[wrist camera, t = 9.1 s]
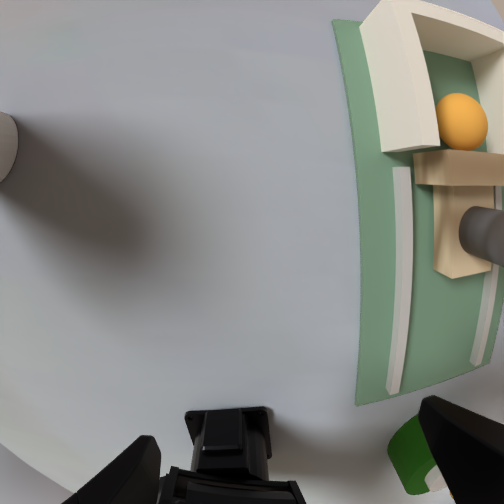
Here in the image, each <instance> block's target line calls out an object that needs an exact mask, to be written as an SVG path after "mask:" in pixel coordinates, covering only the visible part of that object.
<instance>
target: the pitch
mask: <svg viewBox="0 0 504 504" xmlns="http://www.w3.org/2000/svg"><path fill="white" fill-rule="evenodd" d="M332 25H333V29H334V34H335V38H336V43H337V47H338V52H339V57H340V62H341V68H342V73H343V79H344V84H345V90H346V96H347V103H348V109H349V116H350V124H351V131H352V140H353V148H354V158H355V168H356V179H357V191H358V206H359V224H360V251H361V313H360V340H359V358H358V372H357V385H356V395H355V405H356V406H361V405H365V404H369V403H373V402H377V401H381V400H385V399H389V398H392V397H396V396H399V395H403V394H406V393H409V392H413V391H416V390H419V389H422V388H425V387H428V386H431V385H434V384H437V383H440V382H443V381H446V380H448V379H451V378H454V377H456V376H459V375H462V374H464V373H467V372H469V371H472V370H474V369H476V368H479V367H481V366H484V365H486V364H488V363H489V362H490V358H491V354H492V351H493V347H494V343H495V339H496V334H497V330H498V325H499V320H500V315H501V310H502V304H503V298H504V267H501V266H499V265H496V264H494V263H491V270H490V271H486V272H481V273H477V274H472V275H468V276H463V277H458V278H454V279H451V278H449V277H447V276H445V275H443V274H441V273H440V272H438V271H436V270H434V269H433V258H434V198H433V185H429V184H415V172H414V160H413V154H414V153H422V152H430V151H439V150H455V149H453V148H451V147H450V146H448V145H447V144H446V143H445V142H444V141H443V140H442V139H441V138H440V136H439V131H438V124H437V117H436V111H435V108H436V106H437V104H438V102H439V101H440V100H441V99H442V98H443V97H445V96H446V95H449V94H452V93H462V94H466V95H468V96H470V97H472V98H473V99H475V100H476V101H477V102H478V103H479V104H480V105H481V107H482V108H483V110H484V112H485V114H486V117H487V121H488V132H487V136H486V138H485V140H484V142H483V143H482V144H481V145H480V146H479V147H478V148H476V149H474V150H471V151H476V152H487V153H497V154H504V31H502V30H499V29H497V28H495V27H493V26H491V25H488V24H486V23H484V22H481V21H479V20H477V19H474V18H471V17H469V16H466V15H464V14H461V13H458V12H455V11H452V10H450V9H447V8H444V7H440V6H437V5H434V4H431V3H427V2H424V1H420V0H381V1H380V2H379V3H378V5H377V6H376V7H375V8H374V9H373V11H372V12H371V13H370V14H369V15H368V17H367V18H366V19H365V20H364V22H359V21H350V20H338V19H333V20H332ZM493 191H494V209H497V210H503V211H504V186H493Z"/></svg>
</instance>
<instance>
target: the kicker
mask: <svg viewBox="0 0 504 504" xmlns="http://www.w3.org/2000/svg"><path fill="white" fill-rule="evenodd" d="M413 160H414V172H415V184H429V185H433V198H434V258H433V269H434V270H436V271H438V272H440V273H441V274H443V275H445V276H447V277H449V278H451V279H454V278H458V277H463V276H468V275H472V274H477V273H481V272H486V271H490V270H491V263H494V264H496V265H499V266H501V267H504V211H503V210H497V209H494V191H493V186H504V154H497V153H487V152H476V151H464V150H439V151H430V152H422V153H414V154H413Z"/></svg>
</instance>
